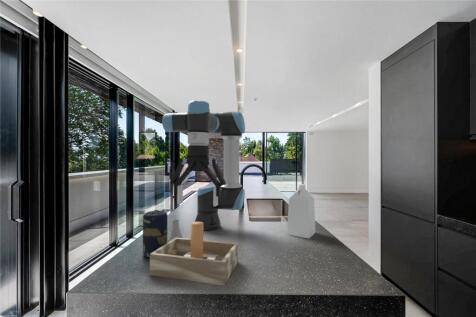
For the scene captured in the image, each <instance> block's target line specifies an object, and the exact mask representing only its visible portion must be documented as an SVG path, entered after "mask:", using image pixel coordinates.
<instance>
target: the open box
mask: <svg viewBox="0 0 476 317" xmlns="http://www.w3.org/2000/svg"><path fill="white" fill-rule="evenodd" d="M238 263H239V243H236V242H235V243H234V242H225V241H216V240H205V239H203V259H202V258H193V257H191V238H187V237H186V238H184V237H183V238H174V239H173V240H171V241H169V242H167V243H166V244H165V245H163V246H162V247H160V248H159V249H157V250H155V251H154V252H152V253H151V254H150V257H149V276H153V277H154V276H155V277H162V278H170V279H175V280H176V279H177V280H183V281H191V282H198V283H204V284H211V285H218V286H219V285H220V286H225V285H226V283H227V281H228V280H229V278H230V276H231V274H232V273H233V271H234V270H235V267H237V264H238Z"/></svg>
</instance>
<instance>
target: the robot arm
mask: <svg viewBox="0 0 476 317" xmlns="http://www.w3.org/2000/svg"><path fill="white" fill-rule="evenodd" d="M187 106H188V107H187V112H171V113H165V114H163V116H162V119H161V120H162V122H161V123H162V128H163V130H164V131H165V132H171V133H179V132H181V133H184V132H187V144H188V146H187V158H179V159H178V165H177V167H176V169H175V171H174V173H173V175H172V177H171V180H170V181H169V182H170V184H172V185H175V192H174V193H175V195H177V197H176V198H177V200H176V201H177V202H176V203H177V205H181V204H183V201H184V197H183V196H184V192H183V191H184V185H183V184H182V183H183V182H184V181H185V180H186V178H187V177H188V176H189V175H190V174H191V172H204V173H205V175H206V176H207V177H208V178H209V180H210V182H212V183H213V185H207V186H206V185H205V186H201V187H199V188H198V189H197V195H196V196H197V202H196V203H197V207H196V208H197V214H196V216H195V219H194V222H203V231H213V230H214V231H215V230H218V229H220V228H221V227H222V222H221V219H220V216H219V210H230V211H239V210H241V209H242V208H243V205H244V201H245V195H246V193H245V192H246V190H245V189H244V188H243V186H242V184H241V183H240V139H241V138H242V137H243V134H244V133H246V123H245V117H244V115H243V113H242V112H240V111H220V112H219V111H216V112H210V111H211V109H210V103H209V102H207V101H205V100H191V101H189V103H188V104H187ZM210 134H220V137H221V139H222V140H223V174H222V171H221V169H220V167H219V165H218V159H217V158H213V159H210V158H209V155H210V153H209V152H210V147H209V144H210ZM185 165H187V167H186V168H185V170H184V172H182V171H183V169H184V167H185ZM209 165H211V167H212V169H213V171H214V173H215V174H216V176H215V175H214V173H213V172H212V171H211V169H210V167H209ZM181 173H182V174H181Z"/></svg>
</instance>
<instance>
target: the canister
mask: <svg viewBox="0 0 476 317" xmlns="http://www.w3.org/2000/svg"><path fill="white" fill-rule="evenodd" d="M167 239H168V212H166V211H163V210H159V209H155V210H151V211H147V212H144V214H143V215H142V255H143V256H144V257H146V258H150V254H151V253H152V252H154V251H155V250H157V249H159V248H160V247H162V246H163V245H165V244H166V243H168V242H167Z"/></svg>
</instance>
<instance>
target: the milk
mask: <svg viewBox="0 0 476 317" xmlns="http://www.w3.org/2000/svg"><path fill="white" fill-rule="evenodd" d="M287 211H288V213H287V227H286V235H287V234H288V235H287V236H292V235H293V237H298V238H299V237H300V238H302V239H303V238H305V239H311V238H312V237H313V236H314V235H315V234H316V215H315V214H316V211H315V197H314V196H313V195H312V194H311V193H310V192H309V191H308V190H307V189H306V184H305V183H301V184H299V185H298V190H295V191H294V192H293V194H292V195H291V196H290V197H289V199H288V210H287Z"/></svg>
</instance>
